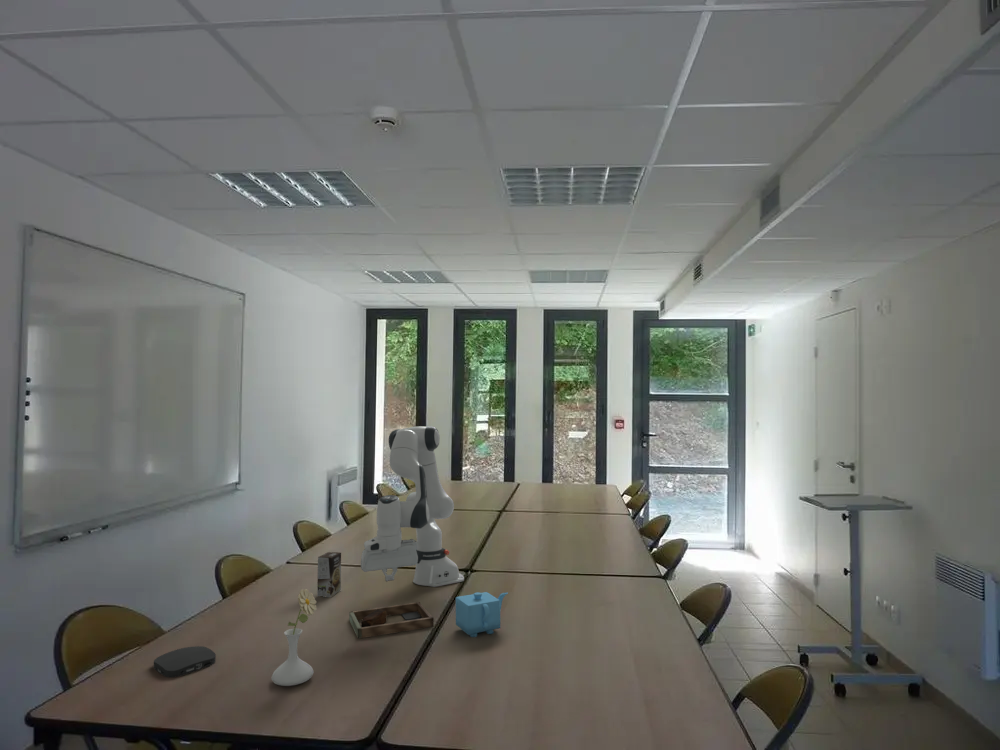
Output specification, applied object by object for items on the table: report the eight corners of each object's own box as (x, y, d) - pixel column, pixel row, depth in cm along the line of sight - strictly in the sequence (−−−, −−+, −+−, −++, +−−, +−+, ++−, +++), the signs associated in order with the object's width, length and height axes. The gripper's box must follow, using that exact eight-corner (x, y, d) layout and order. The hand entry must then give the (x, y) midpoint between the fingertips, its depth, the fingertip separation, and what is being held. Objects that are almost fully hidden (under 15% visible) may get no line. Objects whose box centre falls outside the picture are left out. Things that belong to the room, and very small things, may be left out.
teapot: (471, 642, 197) (471, 602, 197) (452, 626, 210) (452, 589, 211) (518, 632, 205) (518, 594, 205) (498, 617, 219) (497, 582, 219)
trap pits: (416, 612, 225) (416, 611, 225) (427, 625, 212) (427, 623, 212) (401, 614, 222) (401, 613, 222) (410, 627, 210) (410, 626, 210)
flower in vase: (289, 694, 162) (290, 601, 163) (262, 683, 168) (263, 594, 169) (326, 675, 173) (327, 588, 174) (300, 666, 179) (301, 582, 180)
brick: (377, 621, 216) (377, 608, 216) (386, 622, 215) (386, 609, 215) (360, 632, 206) (360, 618, 206) (370, 633, 205) (370, 619, 205)
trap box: (419, 609, 227) (419, 601, 227) (433, 626, 210) (433, 617, 211) (349, 620, 217) (349, 611, 217) (358, 638, 200) (358, 629, 200)
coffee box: (331, 597, 242) (331, 557, 242) (316, 596, 243) (317, 556, 244) (341, 590, 251) (341, 552, 251) (327, 589, 252) (327, 551, 253)
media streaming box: (198, 651, 191) (198, 641, 191) (220, 663, 182) (220, 653, 182) (149, 667, 180) (149, 657, 180) (169, 681, 170) (169, 670, 171)
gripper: (414, 536, 222) (415, 573, 221) (359, 543, 213) (359, 581, 213) (419, 540, 216) (420, 578, 216) (362, 547, 208) (363, 587, 207)
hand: (389, 580), depth 214 cm, fingers closed
